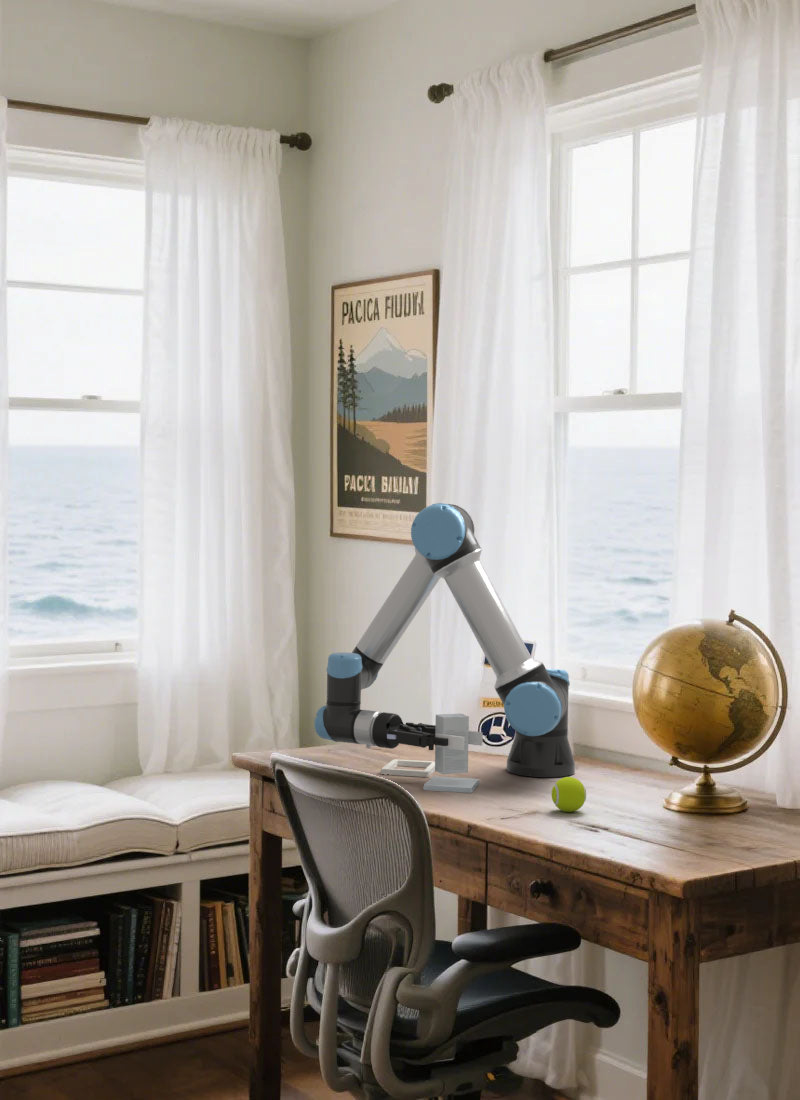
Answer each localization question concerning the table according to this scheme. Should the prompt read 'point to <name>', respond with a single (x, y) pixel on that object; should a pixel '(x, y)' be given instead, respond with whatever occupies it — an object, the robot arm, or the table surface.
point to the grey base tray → (405, 772)
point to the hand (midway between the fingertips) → (472, 741)
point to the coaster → (451, 784)
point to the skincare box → (450, 758)
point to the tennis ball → (568, 794)
